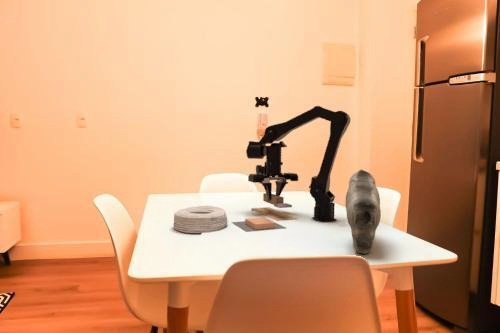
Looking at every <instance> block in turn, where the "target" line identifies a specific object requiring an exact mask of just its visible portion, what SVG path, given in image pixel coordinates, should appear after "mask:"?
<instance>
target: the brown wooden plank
mask: <svg viewBox="0 0 500 333" xmlns="http://www.w3.org/2000/svg"><path fill="white" fill-rule="evenodd" d="M262 197H263V198H262V199H263V202H265V203H268V204H270V205H273V206H274V207H276V208H278V209H284V208H285V209H286V208H287V209H288V208H293V205H292V204H290V203H287V202H286V203H285V200H284V197H283V196H282V195H280V196H277V195H276V194H275V193H271V200H268V197H267V194H266V192H265V193H263V195H262Z"/></svg>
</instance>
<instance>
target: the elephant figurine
mask: <svg viewBox="0 0 500 333" xmlns="http://www.w3.org/2000/svg"><path fill="white" fill-rule="evenodd" d="M345 211H346V219H347V222H348V224H349V227H350V229H351V230H350V231H351V238H352V247H353V250H355V252H357V253H358V254H361V253H362V254H363V255H366V254H369V253H371V251H372V249H373V247H374V246H373V245H374V241H375V236H376V231H377V228H378V226H379V224H380V223H381V216H382V215H381V212H382V211H381V198H380V193H379V190H378V188H377V184H376V180H375V177H374V176H373V174H371V173H370V172H368V171H366V170H363V169H362V168H361V169H359V170H357V171H356V172H354V173H353V174H352V175H351V176H350V178H349V182H348V188H347V192H346V195H345Z"/></svg>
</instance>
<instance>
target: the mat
mask: <svg viewBox="0 0 500 333" xmlns="http://www.w3.org/2000/svg"><path fill="white" fill-rule="evenodd" d="M275 223H276V228H271V229H260V230H255V229H254V228H252V227H250V226H249V225H247V224H245V220H243V221H232V222H231V224H233V225H234V226H236V227H237V228H239V229H241V230H242V231H244V232H246V233H250V232H259V231H260V232H262V231H270V230H271V231H273V230H283V229H287V227H286V226H283V225H281V224H280V223H277V222H275Z"/></svg>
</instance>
